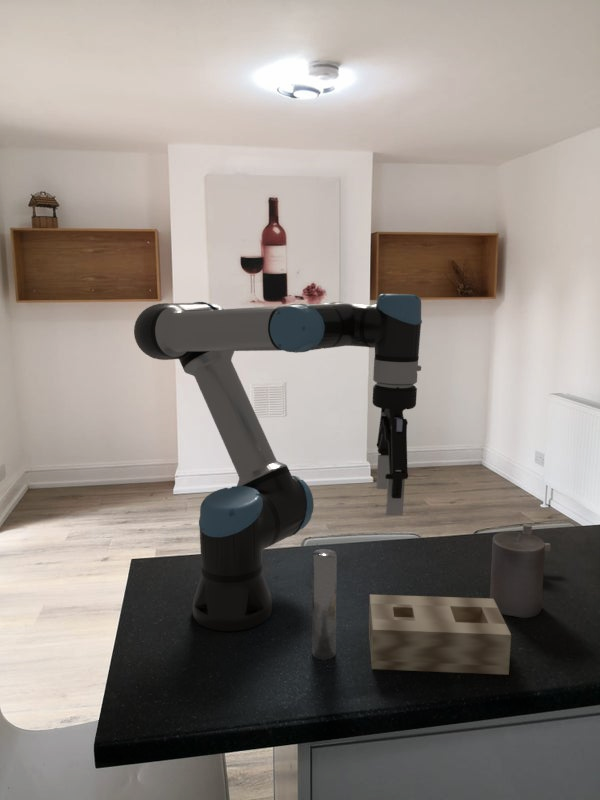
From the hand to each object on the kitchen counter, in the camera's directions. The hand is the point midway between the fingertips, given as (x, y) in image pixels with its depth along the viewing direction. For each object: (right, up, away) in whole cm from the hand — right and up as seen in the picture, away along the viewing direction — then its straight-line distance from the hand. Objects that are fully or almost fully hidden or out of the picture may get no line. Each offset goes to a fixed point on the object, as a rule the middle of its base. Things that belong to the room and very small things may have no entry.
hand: (388, 501), depth 113 cm
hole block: (+7, -25, -5) cm, 27 cm away
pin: (-12, -25, -5) cm, 28 cm away
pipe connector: (+34, -20, +28) cm, 49 cm away
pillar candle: (+26, -23, +11) cm, 36 cm away
